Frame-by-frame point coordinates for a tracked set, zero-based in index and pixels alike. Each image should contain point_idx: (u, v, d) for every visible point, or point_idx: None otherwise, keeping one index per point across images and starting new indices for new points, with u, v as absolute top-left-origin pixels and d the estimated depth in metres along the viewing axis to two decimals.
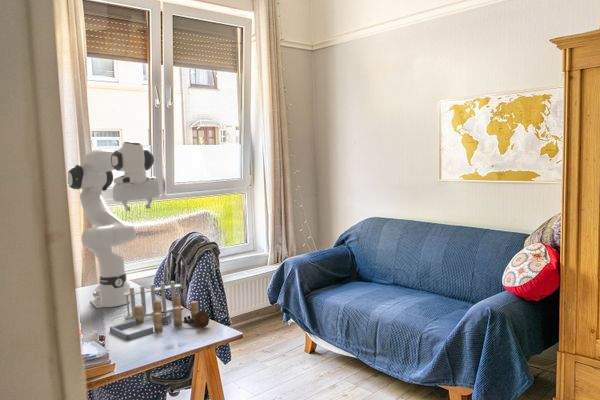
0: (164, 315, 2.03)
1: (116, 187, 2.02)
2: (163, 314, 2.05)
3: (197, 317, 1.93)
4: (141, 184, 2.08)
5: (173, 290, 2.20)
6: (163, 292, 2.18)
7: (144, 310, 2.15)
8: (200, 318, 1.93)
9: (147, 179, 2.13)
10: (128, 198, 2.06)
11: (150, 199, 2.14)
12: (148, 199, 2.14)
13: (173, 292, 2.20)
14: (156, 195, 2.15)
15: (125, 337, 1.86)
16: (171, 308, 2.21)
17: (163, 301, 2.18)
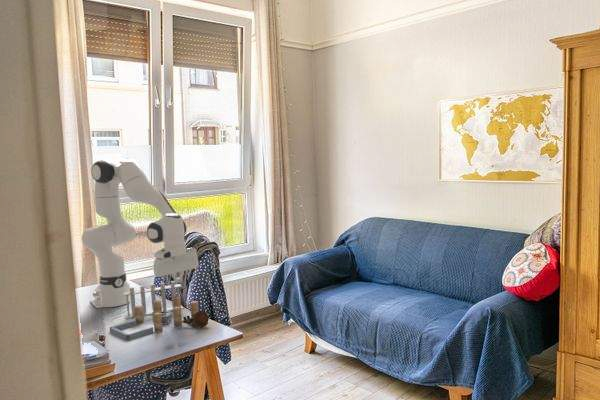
0: (164, 315, 2.03)
1: (157, 263, 2.00)
2: (163, 314, 2.05)
3: (196, 317, 1.94)
4: (181, 257, 2.06)
5: (173, 290, 2.20)
6: (163, 292, 2.18)
7: (144, 310, 2.15)
8: (199, 318, 1.93)
9: (186, 250, 2.11)
10: (169, 272, 2.03)
11: (181, 272, 2.09)
12: (179, 272, 2.09)
13: (173, 292, 2.20)
14: (195, 266, 2.13)
15: (125, 337, 1.86)
16: (171, 308, 2.21)
17: (163, 301, 2.18)
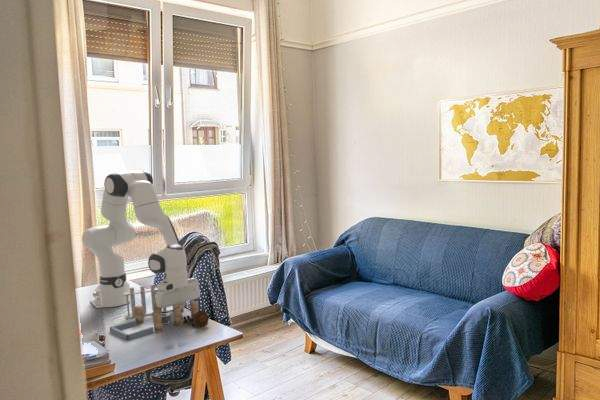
0: (164, 315, 2.03)
1: (160, 295, 2.01)
2: (163, 314, 2.05)
3: (196, 317, 1.94)
4: (183, 288, 2.08)
5: None
6: None
7: (144, 310, 2.15)
8: (199, 318, 1.93)
9: (188, 281, 2.12)
10: (171, 304, 2.05)
11: (183, 303, 2.10)
12: (181, 303, 2.10)
13: None
14: (197, 296, 2.14)
15: (125, 337, 1.86)
16: (171, 308, 2.21)
17: None
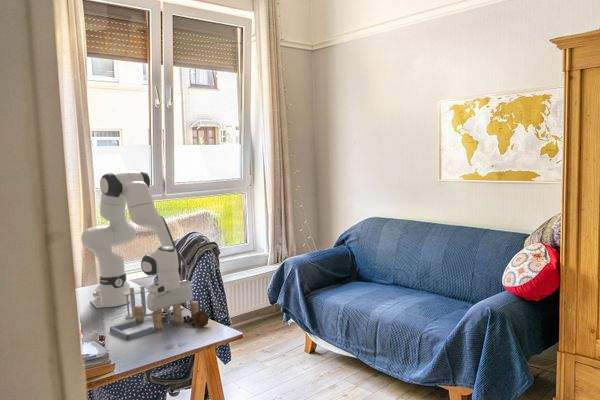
0: (164, 315, 2.03)
1: (151, 297, 1.99)
2: (163, 314, 2.05)
3: (197, 316, 1.94)
4: (175, 291, 2.05)
5: None
6: None
7: (144, 310, 2.15)
8: (200, 317, 1.94)
9: (180, 283, 2.09)
10: (162, 306, 2.02)
11: (175, 306, 2.07)
12: (173, 305, 2.08)
13: None
14: (189, 298, 2.11)
15: (125, 337, 1.86)
16: (171, 308, 2.20)
17: None
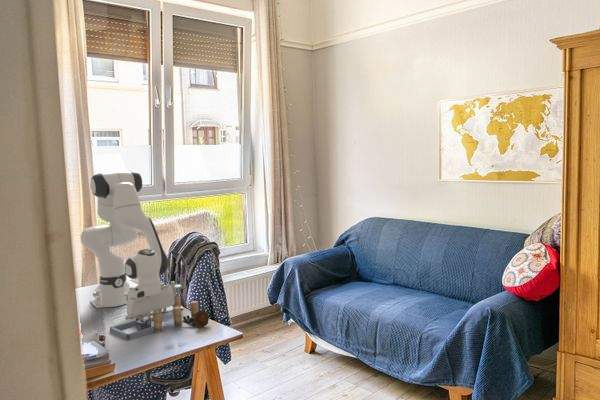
0: (144, 321, 1.97)
1: (130, 303, 1.92)
2: (143, 320, 1.98)
3: (197, 316, 1.94)
4: (156, 296, 1.98)
5: (173, 290, 2.20)
6: None
7: None
8: (200, 317, 1.94)
9: (162, 288, 2.03)
10: (142, 312, 1.95)
11: (156, 311, 2.01)
12: (154, 311, 2.01)
13: (173, 292, 2.20)
14: (171, 304, 2.05)
15: (125, 337, 1.86)
16: (171, 308, 2.20)
17: None
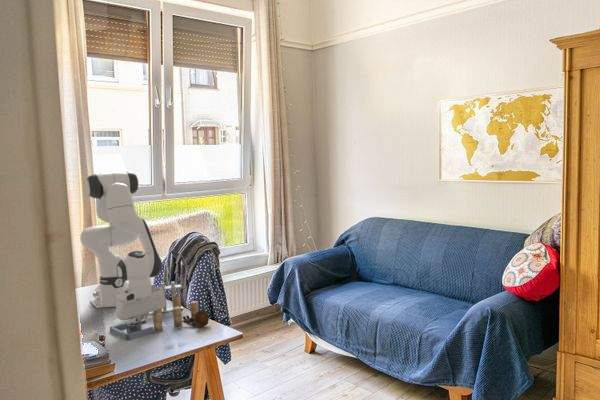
0: (134, 324, 1.94)
1: (120, 305, 1.89)
2: (133, 323, 1.95)
3: (197, 316, 1.94)
4: (146, 298, 1.95)
5: (173, 290, 2.19)
6: None
7: None
8: (200, 317, 1.94)
9: (152, 290, 2.00)
10: (132, 315, 1.92)
11: (147, 314, 1.98)
12: (144, 314, 1.98)
13: (173, 292, 2.19)
14: (162, 306, 2.02)
15: (125, 337, 1.86)
16: (171, 308, 2.20)
17: None
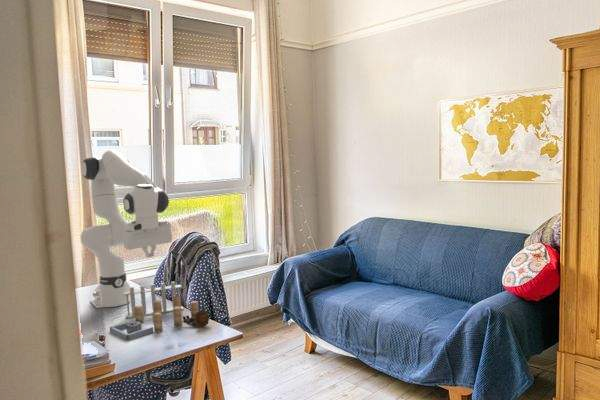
0: (134, 324, 1.94)
1: (127, 235, 1.91)
2: (133, 323, 1.95)
3: (197, 316, 1.94)
4: (153, 230, 1.97)
5: (173, 291, 2.19)
6: (163, 292, 2.18)
7: (144, 310, 2.15)
8: (200, 317, 1.94)
9: (159, 224, 2.01)
10: (139, 246, 1.94)
11: (154, 246, 1.99)
12: (151, 246, 1.99)
13: (173, 293, 2.19)
14: (169, 240, 2.03)
15: (125, 337, 1.86)
16: (171, 309, 2.20)
17: (163, 301, 2.18)
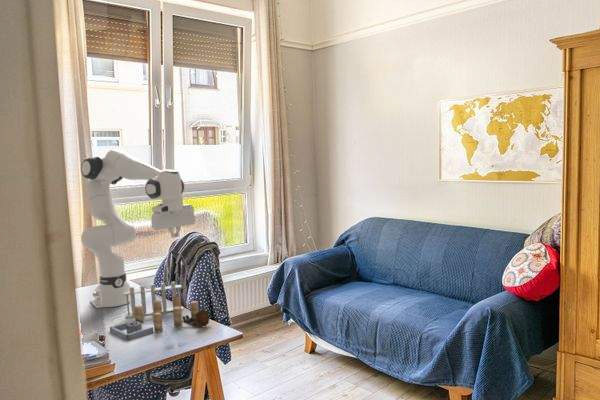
0: (134, 324, 1.94)
1: (155, 216, 2.06)
2: (133, 323, 1.95)
3: (198, 316, 1.95)
4: (178, 212, 2.12)
5: (173, 291, 2.19)
6: (163, 292, 2.18)
7: (144, 310, 2.15)
8: (201, 317, 1.94)
9: (183, 207, 2.16)
10: (166, 226, 2.09)
11: (179, 227, 2.14)
12: (177, 227, 2.14)
13: (173, 293, 2.19)
14: (192, 222, 2.18)
15: (125, 337, 1.86)
16: (171, 309, 2.20)
17: (163, 301, 2.18)
